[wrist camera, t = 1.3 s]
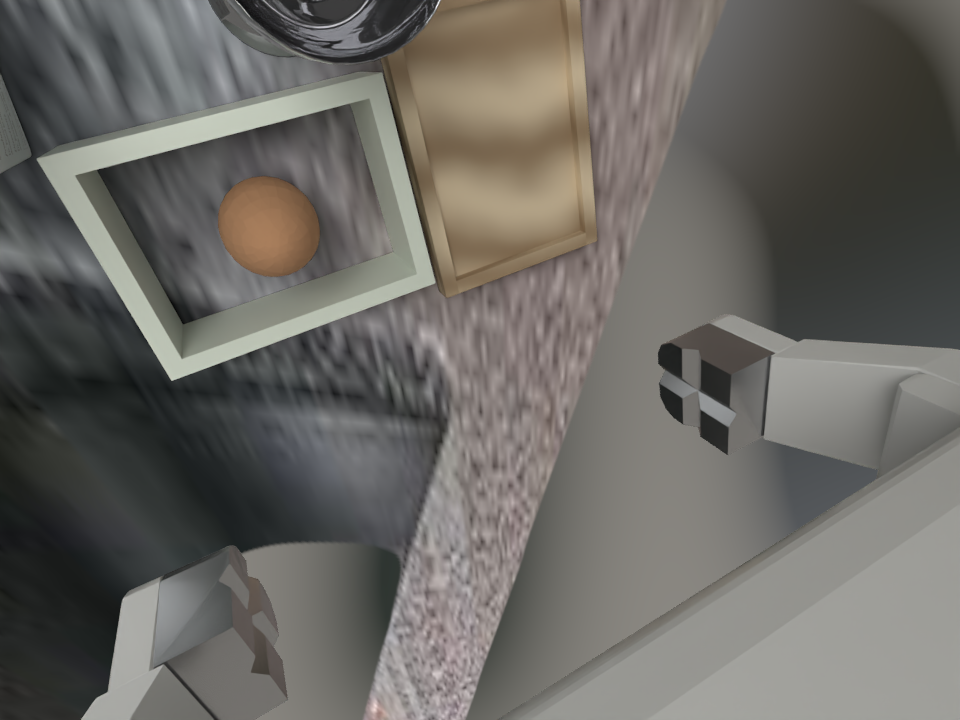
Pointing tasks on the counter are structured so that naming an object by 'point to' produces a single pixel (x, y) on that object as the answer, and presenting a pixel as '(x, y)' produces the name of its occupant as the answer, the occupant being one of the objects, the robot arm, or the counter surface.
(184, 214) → the counter surface
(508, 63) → the tray
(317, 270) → the counter surface
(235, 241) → the egg
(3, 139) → the supplement box
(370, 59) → the wine glass
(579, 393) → the counter surface
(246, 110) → the bin
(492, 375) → the counter surface
